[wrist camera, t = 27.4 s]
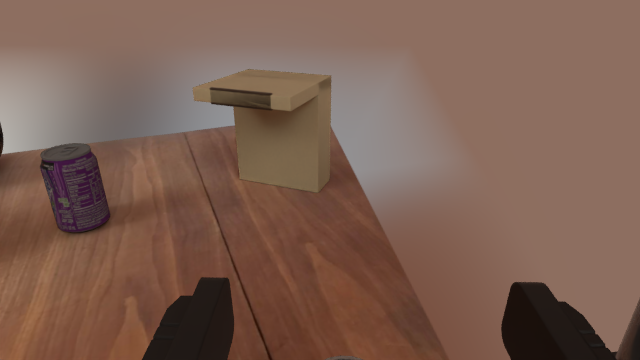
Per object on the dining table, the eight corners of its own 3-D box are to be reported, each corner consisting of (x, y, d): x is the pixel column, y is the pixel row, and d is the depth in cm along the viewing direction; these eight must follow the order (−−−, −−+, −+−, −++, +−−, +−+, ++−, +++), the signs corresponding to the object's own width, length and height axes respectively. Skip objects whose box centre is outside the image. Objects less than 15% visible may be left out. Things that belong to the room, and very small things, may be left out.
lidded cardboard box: (293, 221, 65) (290, 95, 57) (206, 203, 70) (192, 86, 62) (336, 171, 82) (338, 70, 74) (264, 160, 87) (259, 64, 79)
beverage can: (72, 213, 67) (53, 142, 62) (118, 212, 67) (102, 141, 62) (49, 237, 60) (25, 160, 55) (99, 235, 61) (80, 159, 56)
